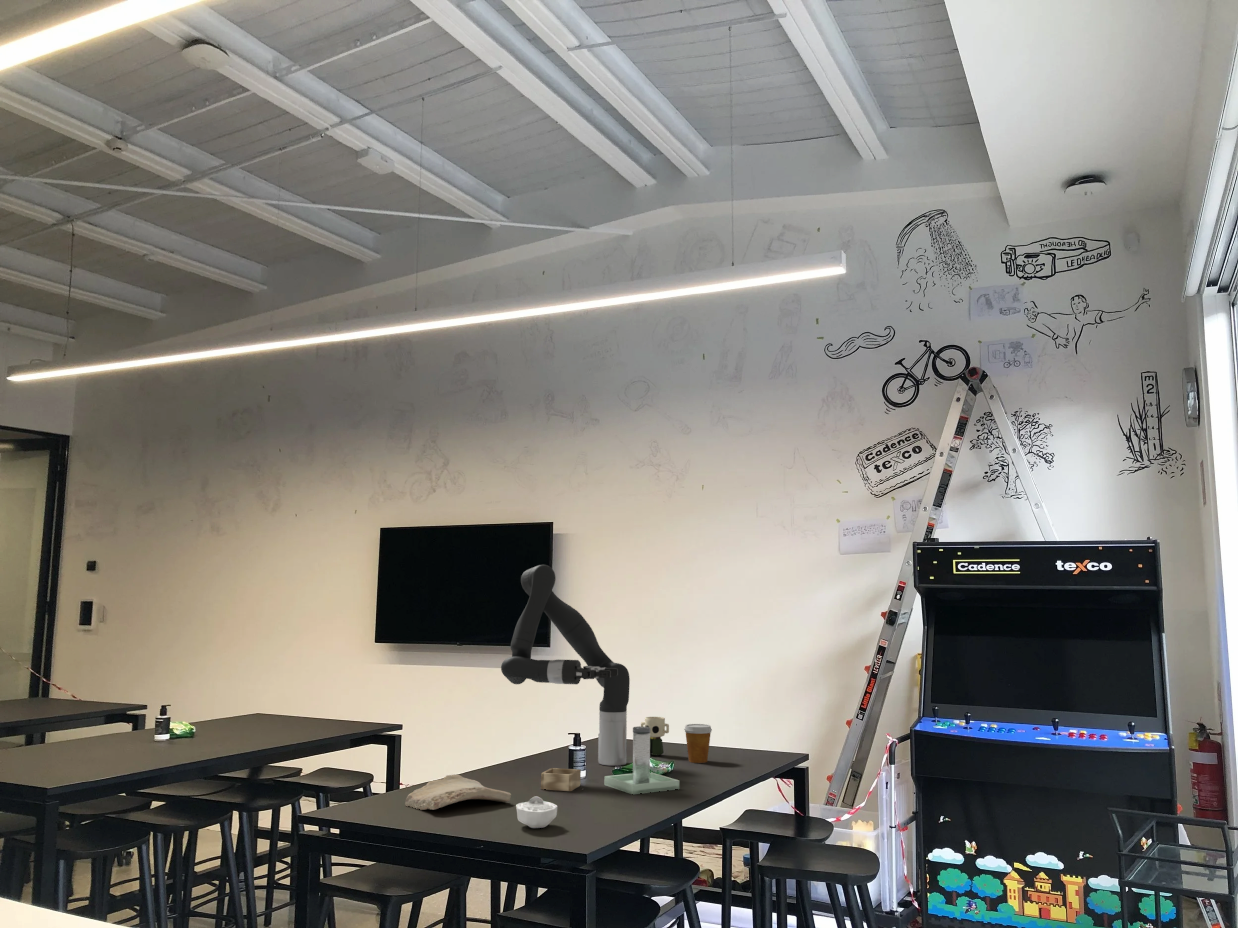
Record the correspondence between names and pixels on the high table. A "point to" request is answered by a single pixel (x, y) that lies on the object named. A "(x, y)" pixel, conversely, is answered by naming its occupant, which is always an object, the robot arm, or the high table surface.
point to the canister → (641, 755)
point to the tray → (655, 784)
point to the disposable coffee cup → (698, 742)
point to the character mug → (656, 733)
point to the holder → (560, 779)
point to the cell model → (536, 812)
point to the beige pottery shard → (452, 793)
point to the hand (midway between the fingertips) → (614, 673)
